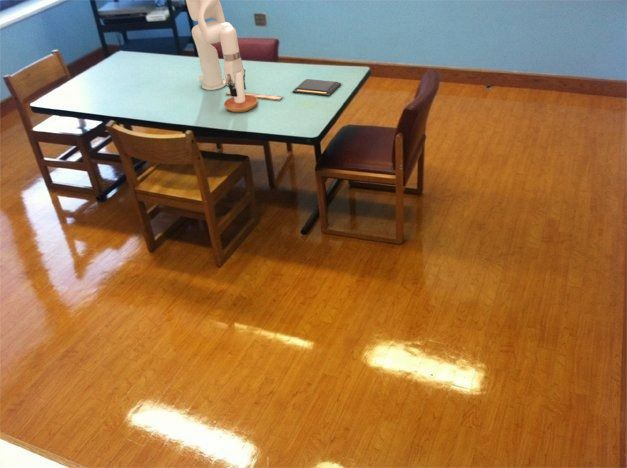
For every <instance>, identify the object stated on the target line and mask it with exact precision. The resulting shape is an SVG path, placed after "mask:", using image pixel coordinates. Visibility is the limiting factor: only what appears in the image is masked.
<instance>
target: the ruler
mask: <svg viewBox="0 0 627 468" xmlns="http://www.w3.org/2000/svg"><path fill="white" fill-rule="evenodd" d="M245 95H253V96H255V97H256V98H257V99H261V100H268V101H269V100H271V101H279V102H280V101H281V100H282V99H283V96H281V95H273V94H272V95H271V94H262V93H254V92H253V93H252V92H245ZM226 96H231V94H230V90H229V91H227V92H226Z"/></svg>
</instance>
